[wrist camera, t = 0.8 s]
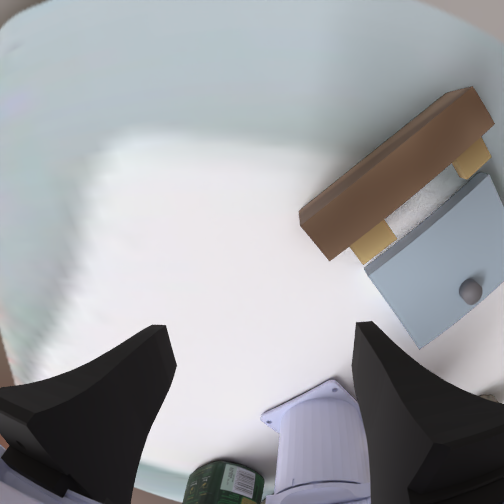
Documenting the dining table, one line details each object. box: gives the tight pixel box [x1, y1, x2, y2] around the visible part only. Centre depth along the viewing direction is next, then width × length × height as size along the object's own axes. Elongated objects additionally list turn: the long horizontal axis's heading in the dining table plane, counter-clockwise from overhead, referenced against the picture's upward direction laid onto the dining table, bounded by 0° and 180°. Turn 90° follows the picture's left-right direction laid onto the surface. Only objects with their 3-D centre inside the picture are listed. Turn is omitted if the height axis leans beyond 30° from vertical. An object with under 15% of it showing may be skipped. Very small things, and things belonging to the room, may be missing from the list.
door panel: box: [364, 172, 504, 349], centre depth 18 cm, size 8×11×3 cm
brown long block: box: [299, 86, 495, 265], centre depth 16 cm, size 4×13×4 cm, turn 132°
